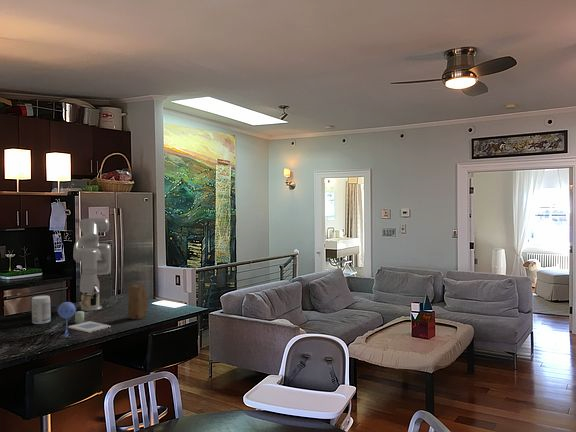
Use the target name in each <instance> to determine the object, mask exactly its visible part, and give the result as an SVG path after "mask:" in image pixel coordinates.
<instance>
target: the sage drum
mask: <svg viewBox="0 0 576 432" xmlns="http://www.w3.org/2000/svg"><path fill="white" fill-rule="evenodd" d="M84 322H85V311H84V310H79V311H78V310H77V311H76V312H75V314H74V324H80V323H84Z"/></svg>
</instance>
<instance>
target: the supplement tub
mask: <svg viewBox="0 0 576 432" xmlns="http://www.w3.org/2000/svg"><path fill="white" fill-rule="evenodd" d="M51 314H52V313H51V297H50V295H36V296H33V297H31V323H32V324H35V325H43V324H48V323H50V322H51V319H52V318H51V317H52V315H51Z"/></svg>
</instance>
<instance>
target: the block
mask: <svg viewBox="0 0 576 432" xmlns="http://www.w3.org/2000/svg"><path fill="white" fill-rule="evenodd" d="M145 287H146V286H145V285H144V284H141V283H140V284H138V283H137V284H133V285H131V286H129V288H128V291H129V292H128V298H127V299H128V300H127V303H128V306H127V307H128V308H127V313H128V318H129V319H130V320H135V319H136V320H141V319H143V318H145V317H146V315H147V310H148V309H147V308H148V296H147V292H146V288H145Z"/></svg>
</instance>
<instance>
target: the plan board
mask: <svg viewBox="0 0 576 432" xmlns="http://www.w3.org/2000/svg"><path fill="white" fill-rule="evenodd" d="M111 326H112V325H109V324H105V323H99V322H95V321H84V323H80V324H77V323H75V324H72V325H69V326H68V325H67V329H71V330H76V331H80V332H84V333H85V332H86V333H89V334H90V333H93V331H94V332H97V330H98V331H101V329H102V330H105V329H108V327H109V328H111Z"/></svg>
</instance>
